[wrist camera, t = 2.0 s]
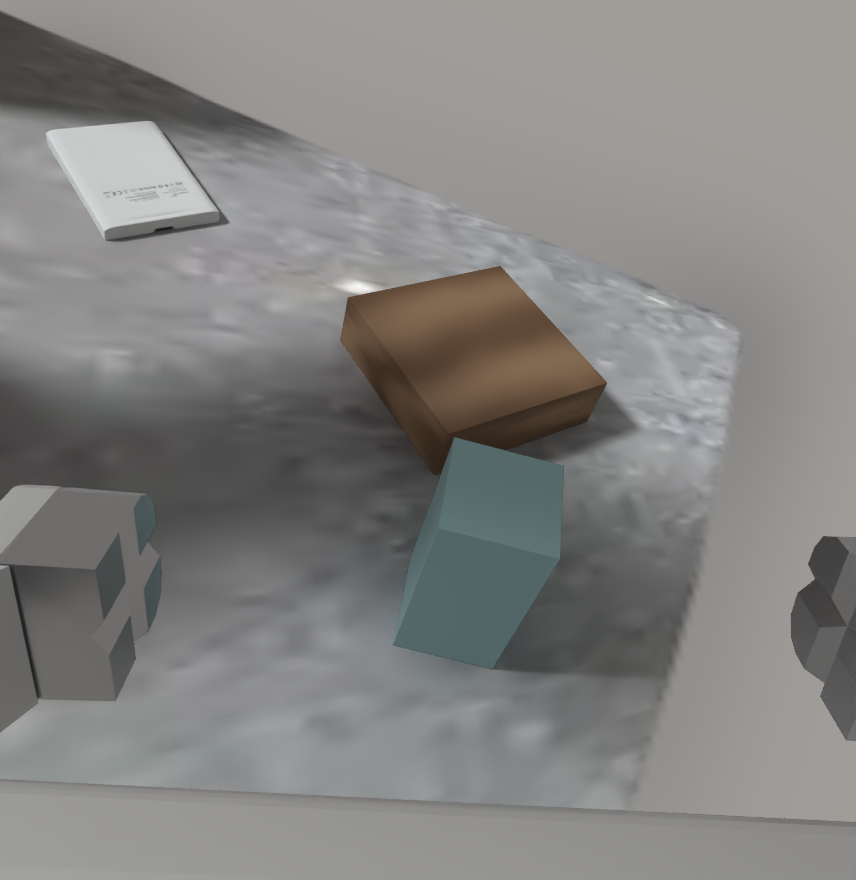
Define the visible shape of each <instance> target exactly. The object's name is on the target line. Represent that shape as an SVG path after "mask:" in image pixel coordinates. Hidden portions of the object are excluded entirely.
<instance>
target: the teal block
mask: <svg viewBox="0 0 856 880" xmlns="http://www.w3.org/2000/svg"><path fill="white" fill-rule="evenodd" d="M563 478H564V466H563V465H559V464H555V463H551V462H547V461H543V460H540V459H536V458H532V457H528V456H524V455H520V454H517V453H513V452H509V451H505V450H501V449H497V448H494V447H490V446H486V445H482V444H478V443H474V442H471V441H467V440H463V439H459V438H455V437H454V440H453V443H452V445H451V448H450V451H449V454H448V456H447V459H446V462H445V465H444V467H443V470H442V473H441V476H440V478H439V481H438V484H437V487H436V489H435V492H434V495H433V498H432V500H431V503H430V506H429V509H428V511H427V514H426V517H425V520H424V522H423V525H422V528H421V531H420V533H419V536H418V539H417V542H416V545H415V547H414V550H413V553H412V556H411V558H410V561H409V567H408V572H407V577H406V582H405V587H404V592H403V597H402V602H401V607H400V612H399V617H398V622H397V627H396V632H395V637H394V642H393V645H395V646H399V647H403V648H407V649H411V650H415V651H419V652H423V653H427V654H431V655H435V656H440V657H444V658H448V659H452V660H456V661H460V662H464V663H468V664H472V665H476V666H480V667H485V668H489V669H492V668H493V667H494V665H495V664H496V662H497V660H498V659H499V657H500V656H501V654H502V652H503V651H504V649H505V647H506V646H507V644H508V643H509V641H510V639H511V638H512V636H513V634H514V633H515V631H516V630H517V628H518V626H519V625H520V623H521V622H522V620H523V618H524V617H525V615H526V613H527V612H528V610H529V609H530V607H531V605H532V604H533V602H534V601H535V599H536V597H537V596H538V594H539V592H540V591H541V589H542V588H543V586H544V584H545V583H546V581H547V580H548V578H549V576H550V575H551V573H552V571H553V570H554V568H555V567H556V565H557V563H558V562H559V560H560V551H561V526H562V502H563Z"/></svg>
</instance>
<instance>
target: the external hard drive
mask: <svg viewBox="0 0 856 880" xmlns="http://www.w3.org/2000/svg"><path fill="white" fill-rule="evenodd" d="M46 138H47V144H48V146H49V147H50V149H51V151H52V152H53V154H54V156H55V158H56V159H57V161H58V162H59V164H60V166H61V167H62V169H63V171H64V173H65V174H66V176H67V178H68V179H69V181H70V183H71V184H72V186H73V188H74V189H75V191H76V193H77V194H78V196H79V198H80V199H81V201H82V203H83V204H84V206H85V208H86V210H87V211H88V213H89V215H90V216H91V218H92V220H93V221H94V223H95V225H96V226H97V228H98V230H99V231H100V233H101V235H102V237H103V238H104V240H111V239H117V238H123V237H129V236H135V235H141V234H147V233H153V232H155V230H162V229H166V228H173V229H178V228H184V227H190V226H196V225H202V224H208V223H214V222H219V211H218V210H217V208H216V207H215V206H214V204H213V203H212V202H211V200H210V199H209V197H208V196H207V194H206V193H205V192H204V190H203V189H202V187H201V186H200V185H199V183H198V182H197V180H196V179H195V178H194V176H193V175H192V174H191V172H190V171H189V169H188V168H187V167H186V165H185V164H184V162H183V161H182V160H181V158H180V157H179V155H178V154H177V153H176V151H175V150H174V149H173V147H172V146H171V144H170V143H169V142H168V140H167V139H166V137H165V136H164V135H163V133H162V132H161V131H160V129H159V128H158V127H157V125H156V124H155V123H154V122H152V121H140V122H130V123H119V124H109V125H99V126H87V127H76V128H65V129H56V130H51V131H48V132H47V133H46Z"/></svg>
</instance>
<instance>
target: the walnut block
mask: <svg viewBox="0 0 856 880" xmlns="http://www.w3.org/2000/svg"><path fill="white" fill-rule="evenodd" d="M340 341H341V342H342V344H343V345H344V346H345V348H346V349H347V351H348V352H349V354H350V355H351V356H352V358H353V359H354V361H355V362H356V364H357V365H358V366H359V368H360V369H361V371H362V372H363V374H364V375H365V376H366V378H367V379H368V381H369V382H370V384H371V385H372V386H373V388H374V389H375V391H376V392H377V394H378V395H379V396H380V398H381V399H382V401H383V402H384V404H385V405H386V406H387V408H388V409H389V411H390V412H391V414H392V415H393V417H394V418H395V419H396V421H397V422H398V424H399V425H400V427H401V428H402V429H403V431H404V432H405V434H406V435H407V437H408V438H409V439H410V441H411V442H412V444H413V445H414V447H415V448H416V449H417V451H418V452H419V454H420V455H421V457H422V458H423V459H424V461H425V462H426V464H427V465H428V467H429V468H430V469H431V471H432V472H433V474H434V475H435V474H438V473H441V472H442V470H443V467H444V465H445V462H446V459H447V456H448V454H449V451H450V448H451V445H452V443H453V440H454V437H455V438H459V439H463V440H467V441H471V442H474V443H478V444H482V445H486V446H490V447H494V448H497V449H501V450H507V449H510V448H512V447H515V446H518V445H521V444H524V443H527V442H530V441H532V440H535V439H538V438H541V437H544V436H547V435H550V434H552V433H555V432H558V431H561V430H564V429H567V428H570V427H572V426H575V425H578V424H581V423H584V422H587V420H588V418H589V416H590V414H591V412H592V410H593V409H594V407H595V405H596V403H597V401H598V399H599V397H600V396H601V394H602V392H603V390H604V388H605V386H606V384H607V382H606V381H605V380H604V379H603V378H602V376H601V375H600V374H599V373H598V372H597V371H596V370H595V369H594V368H593V367H592V366H591V364H590V363H589V362H588V361H587V360H586V359H585V358H584V357H583V356H582V355H581V354H580V352H579V351H578V350H577V349H576V348H575V347H574V346H573V345H572V344H571V343H570V342H569V340H568V339H567V338H566V337H565V336H564V335H563V334H562V333H561V332H560V331H559V330H558V328H557V327H556V326H555V325H554V324H553V323H552V322H551V321H550V320H549V319H548V318H547V316H546V315H545V314H544V313H543V312H542V311H541V310H540V309H539V308H538V307H537V306H536V304H535V303H534V302H533V301H532V300H531V299H530V298H529V297H528V296H527V295H526V294H525V292H524V291H523V290H522V289H521V288H520V287H519V286H518V285H517V284H516V283H515V282H514V280H513V279H512V278H511V277H510V276H509V275H508V274H507V273H506V272H505V271H504V270H503V268H502V267H501V266H498V267H493V268H489V269H484V270H479V271H474V272H469V273H464V274H459V275H455V276H450V277H445V278H440V279H435V280H430V281H425V282H421V283H416V284H411V285H406V286H401V287H396V288H391V289H387V290H382V291H377V292H372V293H367V294H362V295H357V296H353V297H348V300H347V305H346V311H345V317H344V322H343V328H342V333H341V339H340Z"/></svg>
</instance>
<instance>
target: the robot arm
mask: <svg viewBox="0 0 856 880" xmlns="http://www.w3.org/2000/svg"><path fill="white" fill-rule="evenodd" d="M156 525H157V523H156V516H155V509H154V502H153V500H152V499H151V498H150V496H149V495H148V494H145V493H132V492H120V491H108V490H95V489H83V488H70V487H65V488H63V487H60V486H44V485H19V486H14V487H13V488H12V489H11V490H10V491H9V492H8V493H7V494H6V495H5V496H4V498H3V499H2V500H1V501H0V732H1V731H3V730H4V729H5V728H7V727H8V726H9V725H10V724H12V723H13V722H14V721H16V720H17V719H18V718H20V717H21V716H22V715H23V714H25V713H26V712H27V711H29V710H30V709H31V708H32V707H34V706H35V705H36V704H38V699H54V700H92V701H116V699H117V697H118V695H119V693H120V691H121V689H122V687H123V685H124V682H125V680H126V678H127V676H128V674H129V672H130V670H131V668H132V666H133V663H134V661H135V659H136V656H135V648H134V641H135V640H136V639H138V638H139V637H141V636H143V635H144V634H146V633H147V632H148V631H149V629H150V627H151V624H152V622H153V620H154V618H155V615H156V612H157V607H158V602H159V598H160V593H161V574H162V572H161V561H160V555H159V554H158V553H157V552H156V551H155V550H154V548H153V547H152V546H151V545H150V544H149V543H148V540H149V539H150V537H151V535H152V533H153V531H154V529H155V527H156ZM808 565H809V567H810V569H811V571H812V573H813V575H814V577H815V580H814V581H812V582H811V583H810V584H808V585H807V586H806V587H805V588H803V589H802V590H801V591H800V592H798V594H797V597H796V600H795V603H794V607H793V610H792V613H791V638H792V642H793V645H794V649H795V652H796V655H797V656H798V658H799V660H800V662H801V663H802V665H803V667H804V669H806V670H807V671H808V672H810V673H811V674H813V675H814V676H816V677H817V678H818V679H820V680H821V681H823V682H824V683H825V684H824V687H823V690H822V693H821V696H820V697H821V698H822V700H823V702H824V703H825V705H826V707H827V709H828V710H829V712H830V714H831V715H832V717H833V719H834V720H835V722H836V724H837V726H838V727H839V729H840V731H841V732H842V734H843V736H844V738H845V739H846V740H851V741H856V537H829V536H823V537H822V539H821V540H820V541H819V542H818V544H817V545H816V546H815V547H814V550H813V552H812V555H811V558H810V561H809V563H808ZM0 880H856V822H840V821H821V820H802V819H782V818H781V819H780V818H763V817H742V816H724V815H705V814H704V815H703V814H685V813H665V812H643V811H624V810H604V809H583V808H563V807H542V806H522V805H501V804H481V803H460V802H440V801H419V800H399V799H379V798H359V797H340V796H320V795H300V794H281V793H261V792H241V791H222V790H202V789H182V788H162V787H143V786H123V785H103V784H84V783H64V782H44V781H25V780H5V779H0Z"/></svg>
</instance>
